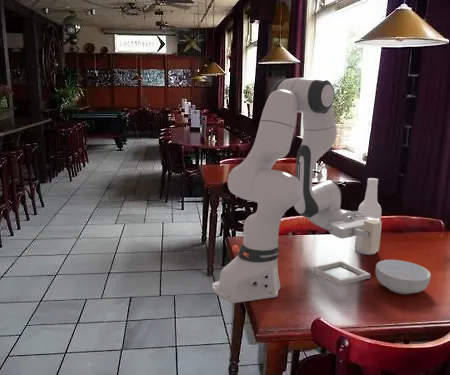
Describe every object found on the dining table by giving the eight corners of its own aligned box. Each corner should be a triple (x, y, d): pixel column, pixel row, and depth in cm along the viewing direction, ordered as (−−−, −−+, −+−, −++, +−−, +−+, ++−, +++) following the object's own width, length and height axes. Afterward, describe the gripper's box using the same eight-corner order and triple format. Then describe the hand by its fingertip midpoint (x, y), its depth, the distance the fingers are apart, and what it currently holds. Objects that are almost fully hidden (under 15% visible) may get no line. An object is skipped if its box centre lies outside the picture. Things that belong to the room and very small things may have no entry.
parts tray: (340, 286, 144) (341, 281, 144) (312, 270, 156) (312, 266, 156) (369, 277, 151) (370, 273, 151) (340, 263, 163) (340, 260, 163)
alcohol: (349, 250, 177) (356, 177, 171) (363, 245, 183) (370, 175, 176) (368, 256, 171) (376, 181, 164) (381, 252, 176) (389, 179, 169)
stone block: (370, 253, 144) (373, 224, 142) (361, 249, 147) (364, 220, 145) (378, 250, 146) (381, 222, 144) (369, 247, 149) (372, 219, 147)
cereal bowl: (425, 306, 132) (428, 284, 131) (369, 292, 140) (371, 272, 138) (430, 285, 147) (432, 265, 145) (378, 274, 155) (381, 255, 153)
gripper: (322, 217, 150) (352, 229, 139) (363, 210, 161) (395, 220, 149) (320, 235, 151) (351, 247, 140) (361, 226, 162) (392, 238, 150)
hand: (374, 233), depth 145 cm, fingers closed on stone block, 4 cm apart
